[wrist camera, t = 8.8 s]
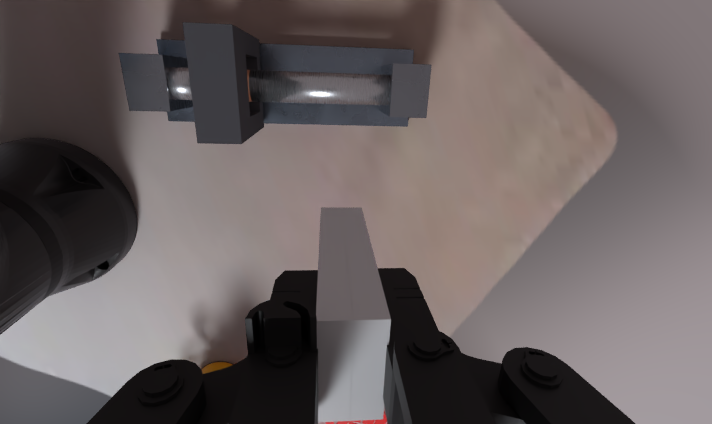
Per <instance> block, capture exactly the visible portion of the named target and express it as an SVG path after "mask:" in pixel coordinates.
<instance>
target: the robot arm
mask: <svg viewBox="0 0 712 424" xmlns="http://www.w3.org/2000/svg"><path fill="white" fill-rule="evenodd" d="M136 229H137V219H136V212H135V208H134V205H133V202H132V199H131V197H130V195H129V193H128V191H127V189H126V188H125V186H124V185H123V183H122V182H121V180H120V179H119V178H118V177H117V175H116V174H115V173H114V172H113V171H112V170H111V169H110V168H109V167H108V166H107V165H105V164H104V163H103V162H102V161H100V160H99V159H98V158H96V157H95V156H93V155H92V154H90V153H88V152H86V151H85V150H83V149H81V148H78V147H76V146H74V145H71V144H68V143H65V142H61V141H57V140H52V139H44V138H29V139H22V140H16V141H11V142H7V143H2V144H0V334H2V333H3V332H4V331H5V330H7V329H8V328H9V327H10V326H12V325H13V324H14V323H15V322H17V321H18V320H19V319H20V318H21V317H23V316H24V315H25V314H26V313H28V312H29V311H30V310H31V309H33V308H34V307H35V306H36V305H37V304H39V303H40V302H41V301H43V300H44V299H45V298H46V297H48V296H50V295H53V294H56V293H59V292H62V291H65V290H68V289H71V288H74V287H76V286H79V285H82V284H85V283H88V282H91V281H93V280H95V279H97V278H99V277H101V276H102V275H104V274H106V273H107V272H108V271H110V270H111V269H112V268H113V267H114V266H115V265H116V264H118V263H119V262H120V261H121V260H122V259H123V258H124V257H125V256H126V255H127V253H128V252H129V250H130V249H131V247H132V245H133V242H134V239H135V235H136ZM245 325H246V336H247V347H248V356H247V357H246V358H245V359H244V360H242V361H240V362H238V363H236V364H234V365H232V366H229V367H226V368H223V369H220V370H216V371H212V372H209V373H205V374H203V373H202V370H201V369H200V368H199V367H198V366H197V364H196V363H193V362H190V361H187V360H168V361H164V362H160V363H156V364H154V365H152V366H150V367H148V368H146V369H144V370H142V371H140V372H139V373H137V374H136V375H135V376H134V377H132V378H131V379H130V380H129V381H127V382H126V383H125V385H124V386H123V387H122V388H121V389H120V390H119V391H118V392H117V393H116V394H115V395H114V396H113V397H112V398H111V399H110V400H109V401H108V402H107V403H106V404H105V405H104V406H103V407H102V408H101V409H100V410H99V412H97V413H96V415H95V416H94V417H93V418H92V419H91V420H90V421H89V422H88V423H87V424H318V422H336V421H359V420H381V419H383V414H384V406H385V412H386V418H387V423H388V424H635V423H634V422H633V421H632V420H631V419H630V418H628V417H627V416H626V415H625V414H624V413H623V412H621V411H620V410H619V409H618V408H617V407H615V406H614V405H613V404H612V403H611V402H610V401H609V400H607V398H605V397H604V396H603V395H602V394H601V393H600V392H598V391H597V390H596V389H595V388H594V387H593V386H591V385H590V384H589V383H588V382H587V381H586V380H584V379H583V378H582V377H581V376H580V375H579V374H578V373H576V372H575V371H574V370H573V369H572V368H571V367H570V366H568V365H567V364H566V363H564V362H563V361H561V360H560V359H558V358H557V357H556V356H553V355H551V354H549V353H547V352H544V351H542V350H538V349H532V348H528V347H525V348H514V349H513V350H511V351H508V352H507V353H506V355H505V356H504V358H503V361H502V364H501V363H496V362H491V361H486V360H482V359H477V358H474V357H470V356H467V355H465V354H463V353H461V351H460V349H459V348H458V346H457V345H456V344H455V342H454V341H453V340H452V339H451V338H450V337H448V336H447V335H445V334H444V333H442V332H439V330H438V328H437V326H436V323H435V321H434V319H433V317H432V314H431V312H430V310H429V308H428V305H427V303H426V301H425V299H424V296H423V294H422V292H421V290H420V287H419V285H418V283H417V280H416V278H415V277H414V276H413V275H412V274H411V273H409V272H408V271H407V270H406V269H405V268H377V265H376V261H375V257H374V253H373V249H372V246H371V242H370V238H369V234H368V231H367V227H366V223H365V219H364V215H363V212H362V208H321V219H320V240H319V261H318V270H302V271H284V272H283V273H282V274H281V275H280V276H279V277H278V278H277V279H276V280H275V283H274V287H273V291H272V295H271V299H270V300H269V301H266V302H263V303H260V304H259V305H257V306H256V307H255V308H253V309H252V310H250V312H249V313H248V315H247V316H246V318H245Z"/></svg>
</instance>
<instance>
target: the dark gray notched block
mask: <svg viewBox="0 0 712 424" xmlns="http://www.w3.org/2000/svg"><path fill="white" fill-rule="evenodd" d="M183 30H184V38H185V46H186V54H187V62H188V70H189V78H190V86H191V94H192V102H193V110H194V118H195V127H196V135H197V143H213V144H242V143H244V142H245V141H246V140H247V139H249V138H250V137H251V136H253V135H254V134H255V133H257V132H258V131H259V130H260V129H262V128H263V127H264V118H263V102H249V94H248V80H247V70H261V66H260V49H259V39H257V38H255V37H253V36H251V35H250V34H248V33H246V32H244V31H243V30H241V29H239V28H237V27H235V26H234V25H231V24H209V23H187V22H183Z"/></svg>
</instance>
